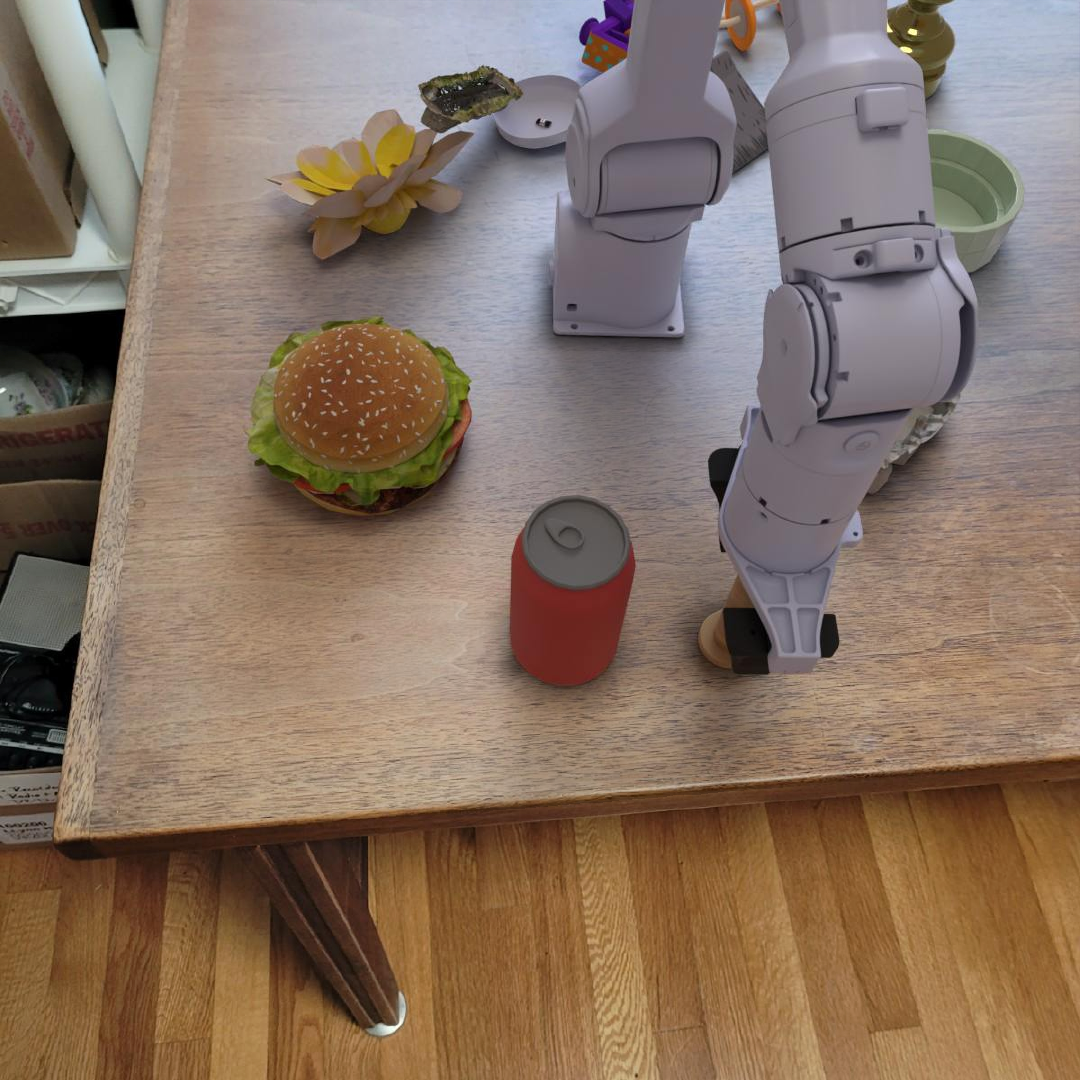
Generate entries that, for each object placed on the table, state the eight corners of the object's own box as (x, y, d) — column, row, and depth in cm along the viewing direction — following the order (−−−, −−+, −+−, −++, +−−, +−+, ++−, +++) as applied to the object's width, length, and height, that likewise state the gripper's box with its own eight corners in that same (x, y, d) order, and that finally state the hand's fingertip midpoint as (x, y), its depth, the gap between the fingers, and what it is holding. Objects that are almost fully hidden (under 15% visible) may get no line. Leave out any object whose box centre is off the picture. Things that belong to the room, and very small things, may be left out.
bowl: (866, 279, 79) (887, 230, 75) (844, 178, 85) (863, 126, 81) (1011, 283, 80) (1040, 234, 75) (980, 182, 85) (1005, 131, 81)
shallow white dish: (526, 85, 90) (523, 65, 88) (608, 108, 87) (606, 88, 85) (476, 142, 87) (473, 123, 85) (559, 168, 84) (557, 149, 82)
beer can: (555, 571, 66) (566, 464, 55) (639, 633, 64) (666, 533, 53) (487, 644, 63) (484, 545, 53) (572, 711, 61) (587, 622, 51)
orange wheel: (683, 20, 87) (856, -15, 87) (658, -50, 89) (827, -83, 90) (675, 86, 93) (836, 53, 94) (652, 20, 96) (809, -12, 97)
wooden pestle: (700, 668, 63) (737, 579, 53) (695, 614, 64) (731, 518, 55) (759, 669, 63) (808, 580, 53) (753, 615, 65) (799, 520, 55)
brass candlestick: (838, 60, 93) (873, -52, 84) (913, 47, 94) (955, -64, 85) (876, 112, 89) (916, 2, 81) (952, 98, 91) (1000, -12, 82)
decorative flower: (430, 108, 84) (429, 15, 75) (496, 219, 82) (502, 137, 72) (258, 176, 81) (233, 88, 72) (321, 293, 79) (304, 217, 69)
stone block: (550, 99, 84) (500, 107, 86) (538, 41, 82) (487, 52, 84) (454, 145, 74) (402, 153, 77) (438, 82, 72) (384, 92, 75)
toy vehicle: (722, 182, 84) (741, 5, 71) (546, 71, 93) (535, -104, 80) (793, 130, 87) (824, -49, 74) (615, 27, 96) (615, -149, 83)
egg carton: (859, 511, 69) (879, 477, 65) (774, 441, 71) (788, 404, 68) (956, 425, 73) (979, 389, 69) (871, 361, 75) (889, 323, 72)
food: (331, 336, 75) (314, 253, 68) (503, 412, 72) (504, 334, 65) (215, 476, 68) (183, 400, 61) (399, 566, 65) (387, 497, 59)
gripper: (919, 616, 44) (831, 728, 56) (865, 352, 51) (797, 500, 63) (754, 613, 44) (700, 726, 56) (723, 348, 51) (681, 497, 63)
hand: (743, 606), depth 59 cm, fingers open, 7 cm apart
